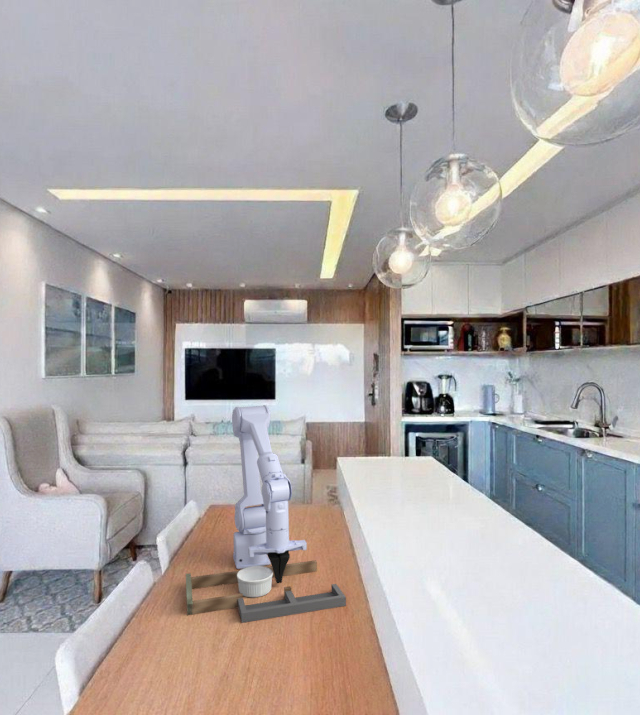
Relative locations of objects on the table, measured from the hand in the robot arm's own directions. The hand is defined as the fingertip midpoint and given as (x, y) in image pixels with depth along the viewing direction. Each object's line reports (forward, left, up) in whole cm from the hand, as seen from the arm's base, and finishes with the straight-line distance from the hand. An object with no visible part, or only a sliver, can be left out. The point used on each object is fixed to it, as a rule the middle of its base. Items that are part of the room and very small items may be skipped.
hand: (278, 581), depth 125 cm
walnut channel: (-5, 0, -1) cm, 5 cm away
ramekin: (-6, 0, -2) cm, 6 cm away
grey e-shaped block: (+1, -11, -1) cm, 11 cm away
